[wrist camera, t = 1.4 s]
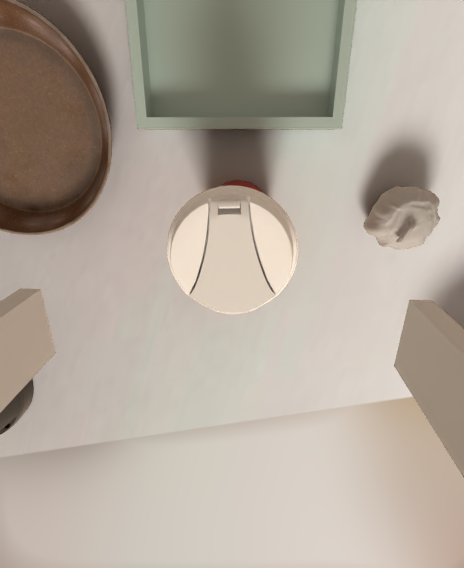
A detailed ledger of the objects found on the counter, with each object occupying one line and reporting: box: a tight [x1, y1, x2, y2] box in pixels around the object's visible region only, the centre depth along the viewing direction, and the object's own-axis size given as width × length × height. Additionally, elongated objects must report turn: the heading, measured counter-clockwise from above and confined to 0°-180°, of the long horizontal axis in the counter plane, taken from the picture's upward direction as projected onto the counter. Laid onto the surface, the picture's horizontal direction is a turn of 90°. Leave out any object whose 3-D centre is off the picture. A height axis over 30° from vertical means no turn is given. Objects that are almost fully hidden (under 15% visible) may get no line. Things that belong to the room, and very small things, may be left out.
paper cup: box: [167, 181, 298, 314], centre depth 25 cm, size 8×8×14 cm
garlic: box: [364, 186, 440, 250], centre depth 29 cm, size 6×5×5 cm
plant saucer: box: [0, 0, 112, 235], centre depth 28 cm, size 18×18×3 cm
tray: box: [125, 0, 357, 129], centre depth 24 cm, size 16×16×2 cm
